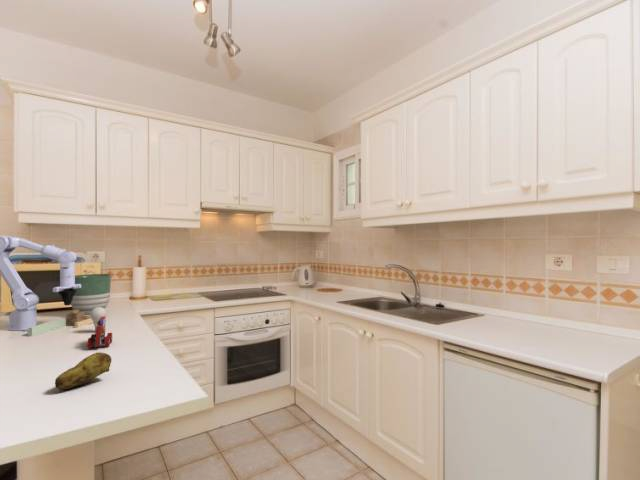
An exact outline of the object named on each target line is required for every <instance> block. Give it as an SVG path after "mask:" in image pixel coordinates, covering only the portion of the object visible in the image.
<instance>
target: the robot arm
mask: <svg viewBox="0 0 640 480" xmlns="http://www.w3.org/2000/svg"><path fill="white" fill-rule="evenodd" d="M16 248H24V249H28V250H31V251H34V252H38V253H40V255H41V256H42V257H44V258H47V259H50V260H54V261H58V262H59V265H60V266H59V286H56V287H52V293H58V294H59V295H60V297H61V298H62V299H61V300H62V301H63V305H64V306H71V302H72V299H73V296H74V294H75V293H76V289H75V288H81V284H75V275H76V262H75V261H76V260H77V258H78V257H77V256H78V255H77V254H76V252H74V251H72V250H67V249H66V248H60V247H57V246H56V245H55V244H51V245H50V244H47V245H42V244H39V243H36V242H34V241H30V240H28V239H26V238H22V237H18V236H13V235H0V275H1V278H2V279H3V281H4V282H5V284H6V285H7V287H8V288H9V290H10V291H11V299H12V305H13V307H14V308H15V309H13V310H11V312H9V313H10V314H9V316H8V317H9V319H8V320H9V321H8V322H9V323H8V324H9V325H8V326H9V327H8V328H7V331H28V328H29V327H33V326H36V325H38V324H37V308H38V307H37V305H38V304H39V303H40V297H39V296H38V294H35V293H34V292H33V291H32V289H30V288H29V287H27V286H26V284H25V282H24V281H23V279H22V278H21V276H20V275H19V273H18V272H17V270H16V268H15V267H14V265H13V264H12V262H11V261H10V258H9V257H10V255H11V253H12V252H13V251H14V250H15V249H16Z"/></svg>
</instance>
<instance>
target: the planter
mask: <svg viewBox="0 0 640 480" xmlns="http://www.w3.org/2000/svg"><path fill="white" fill-rule="evenodd" d="M111 283H112V275H111V274H110V273H109V274H108V273H96V274H95V273H92V274H91V273H89V274H77V275H76V274H75V284H81V288H75V289H76V293H75V294H74V296H73V299H72V302H71V305H70V306H71V307H72V310H76V309H79V311H84V315H90V313H91V311H92V310H93V309H94V308H97V307H102V308H104V309H105V310H106V308H107V307H108V305H109V302H110V296H111V286H112V285H111Z"/></svg>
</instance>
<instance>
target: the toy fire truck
mask: <svg viewBox="0 0 640 480" xmlns="http://www.w3.org/2000/svg"><path fill="white" fill-rule="evenodd" d="M106 318H107V316H106V317H101V318H100V319H99V321H98V322H97V324H98V326H97V329H96V331H95V330H94V331H95V332H94V333H92V334H91V336H90V337H88V338H87V342H86V343H87V345H86V347H87V349H88V350H91V349H93V348H94V347H102V345H103V346H104V348H109V347H110V344H112V342H113V332H107V335H106V322H107V321H106V320H107V319H106Z"/></svg>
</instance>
